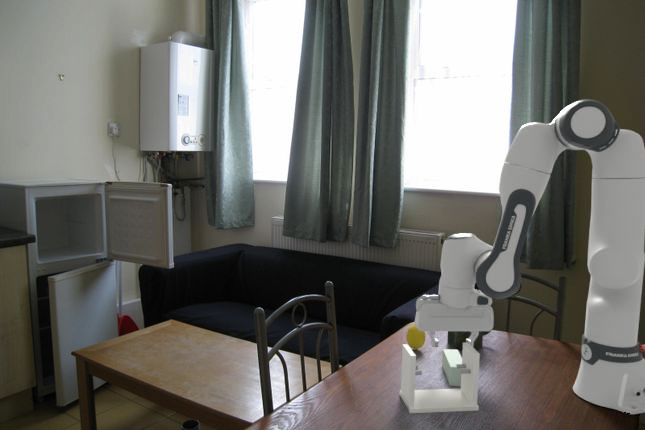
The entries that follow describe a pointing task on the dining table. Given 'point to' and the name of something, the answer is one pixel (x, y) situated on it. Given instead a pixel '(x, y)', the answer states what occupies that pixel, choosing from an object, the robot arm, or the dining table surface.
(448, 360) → the shelf board
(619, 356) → the robot arm
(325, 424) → the dining table surface
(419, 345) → the lemon
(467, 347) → the shelf unit
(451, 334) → the mug
